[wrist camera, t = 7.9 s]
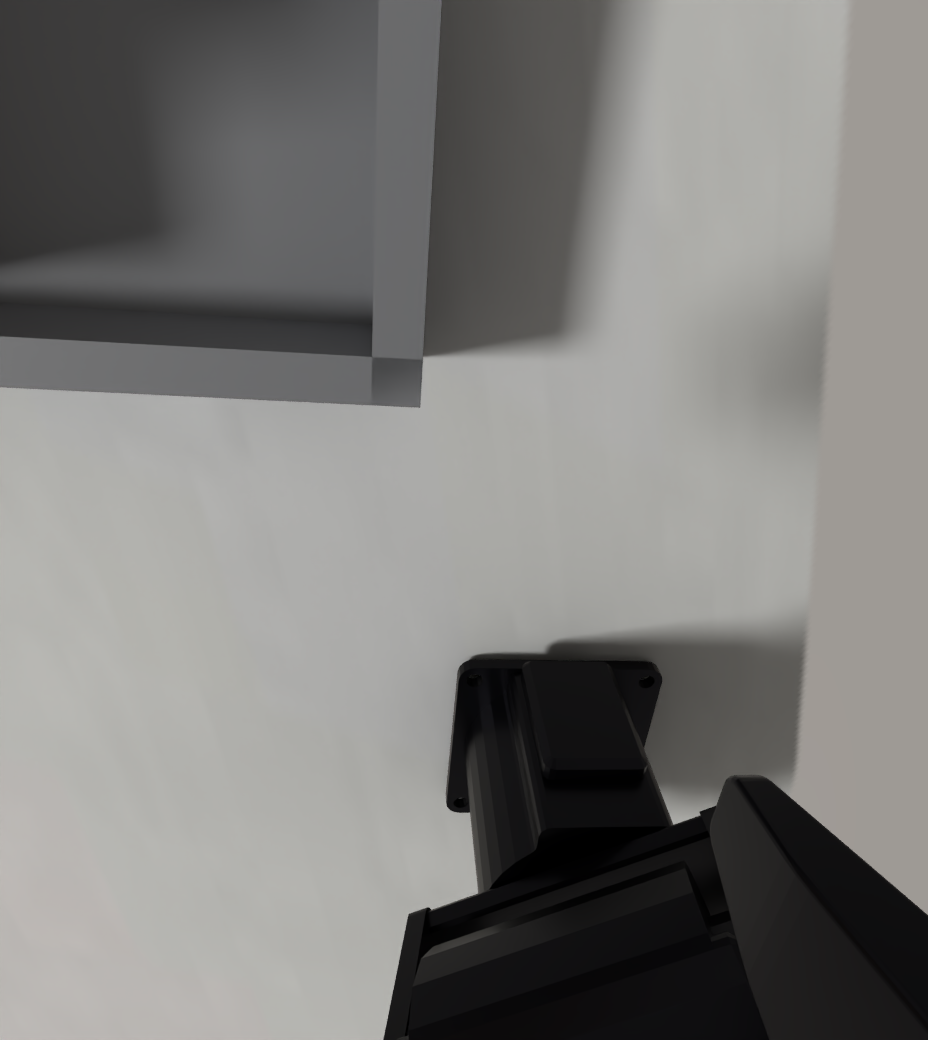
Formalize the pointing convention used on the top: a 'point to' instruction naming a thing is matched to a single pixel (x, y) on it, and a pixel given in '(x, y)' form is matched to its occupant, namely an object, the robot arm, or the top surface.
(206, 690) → the top surface
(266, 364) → the bay
